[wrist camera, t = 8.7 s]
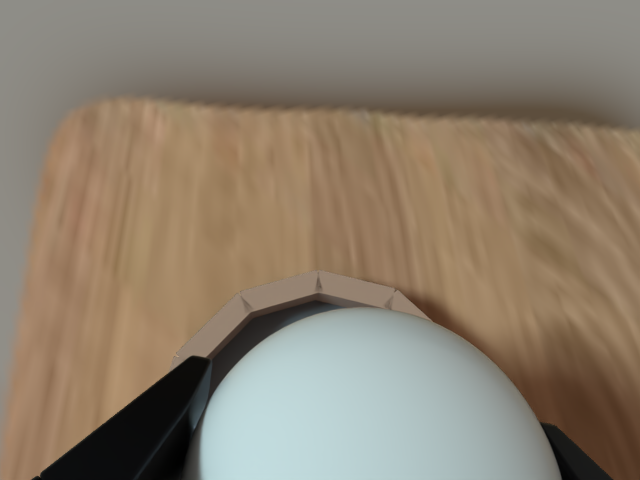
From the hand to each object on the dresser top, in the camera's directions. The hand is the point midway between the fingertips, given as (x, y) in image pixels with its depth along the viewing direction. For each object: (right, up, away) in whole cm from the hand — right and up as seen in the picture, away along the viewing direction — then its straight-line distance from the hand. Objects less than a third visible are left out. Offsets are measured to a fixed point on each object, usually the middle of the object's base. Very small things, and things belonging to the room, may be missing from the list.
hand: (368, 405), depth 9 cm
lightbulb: (-1, -4, +7) cm, 7 cm away
